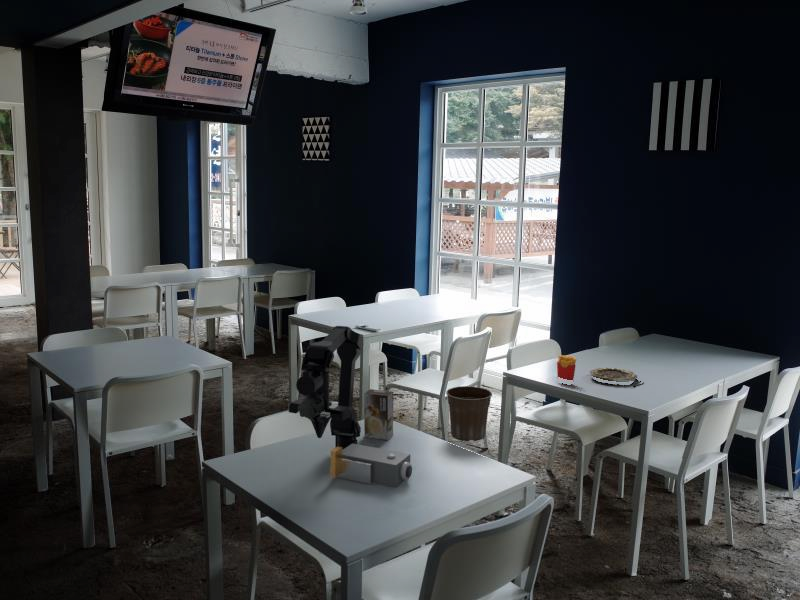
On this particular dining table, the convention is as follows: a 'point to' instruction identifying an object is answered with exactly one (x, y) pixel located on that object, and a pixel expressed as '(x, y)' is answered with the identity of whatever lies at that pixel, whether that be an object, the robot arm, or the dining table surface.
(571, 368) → the french fries
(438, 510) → the dining table surface
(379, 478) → the camera housing
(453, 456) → the dining table surface
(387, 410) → the coffee box
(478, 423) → the plant pot
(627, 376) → the pie
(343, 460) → the orange and silver box
